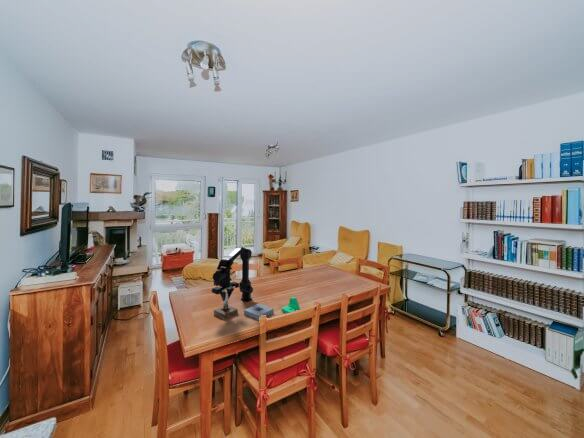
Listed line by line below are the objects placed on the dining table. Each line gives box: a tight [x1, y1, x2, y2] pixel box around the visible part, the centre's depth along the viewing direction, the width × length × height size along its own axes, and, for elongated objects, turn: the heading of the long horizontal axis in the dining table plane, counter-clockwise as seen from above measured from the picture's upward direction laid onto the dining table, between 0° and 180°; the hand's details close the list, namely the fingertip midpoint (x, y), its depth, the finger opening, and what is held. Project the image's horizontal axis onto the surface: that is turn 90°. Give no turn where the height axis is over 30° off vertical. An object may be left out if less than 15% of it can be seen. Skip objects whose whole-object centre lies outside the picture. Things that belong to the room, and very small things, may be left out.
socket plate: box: [243, 303, 274, 321], centre depth 169 cm, size 14×14×3 cm
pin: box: [222, 291, 229, 309], centre depth 167 cm, size 3×3×10 cm
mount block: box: [213, 305, 239, 320], centre depth 167 cm, size 11×11×3 cm
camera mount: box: [281, 296, 301, 314], centre depth 171 cm, size 12×8×10 cm, turn 41°
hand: (225, 300), depth 167 cm, fingers closed on pin, 3 cm apart
